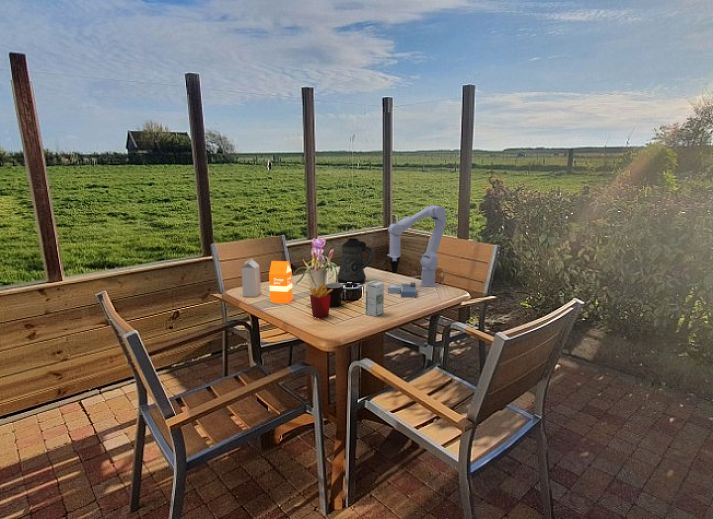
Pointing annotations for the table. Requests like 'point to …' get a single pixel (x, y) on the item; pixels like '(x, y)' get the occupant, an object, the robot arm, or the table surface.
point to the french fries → (320, 301)
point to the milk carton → (251, 279)
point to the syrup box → (374, 298)
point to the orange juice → (280, 282)
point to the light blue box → (393, 288)
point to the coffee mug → (335, 294)
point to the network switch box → (408, 290)
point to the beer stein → (353, 261)
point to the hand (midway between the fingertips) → (394, 271)
